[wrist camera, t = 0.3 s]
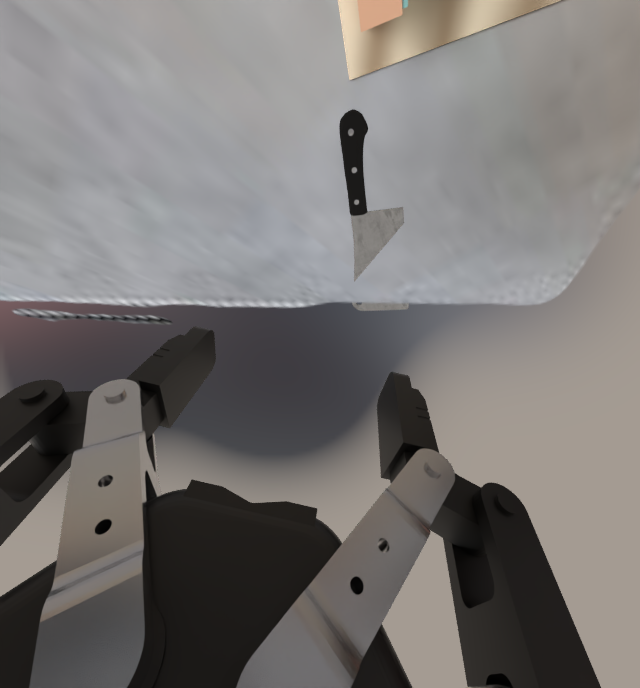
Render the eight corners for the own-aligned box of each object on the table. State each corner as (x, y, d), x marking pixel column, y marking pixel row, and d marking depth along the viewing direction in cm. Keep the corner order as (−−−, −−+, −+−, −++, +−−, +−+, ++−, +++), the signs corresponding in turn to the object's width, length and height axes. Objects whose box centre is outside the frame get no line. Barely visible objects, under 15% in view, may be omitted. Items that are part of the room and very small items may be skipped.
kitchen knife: (432, 92, 26) (332, 113, 28) (433, 93, 26) (331, 114, 28) (408, 308, 48) (353, 311, 50) (408, 310, 48) (353, 312, 50)
